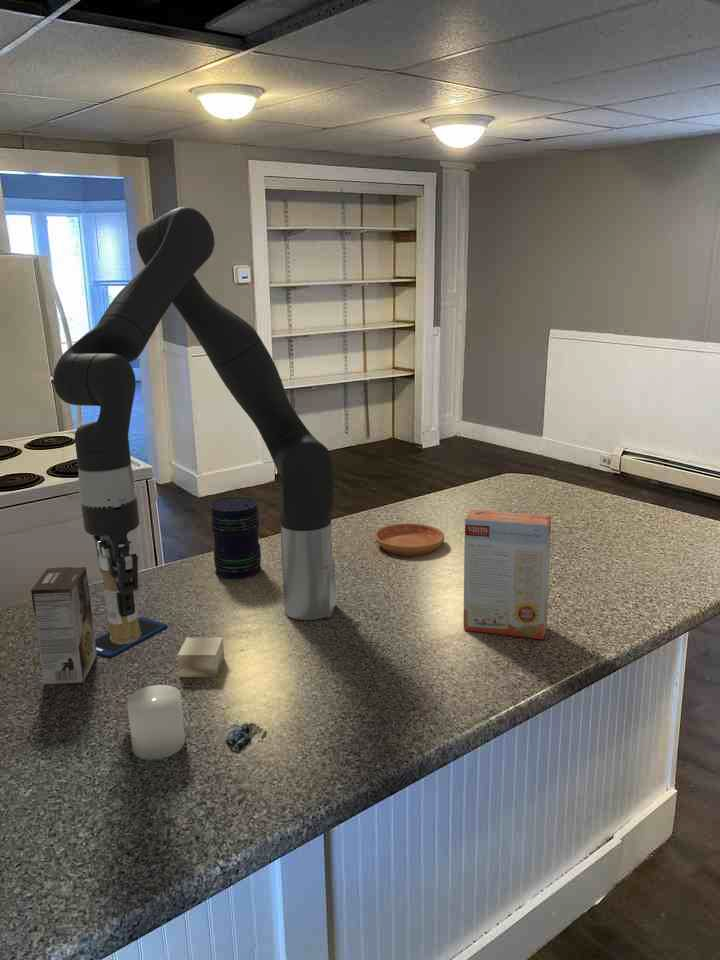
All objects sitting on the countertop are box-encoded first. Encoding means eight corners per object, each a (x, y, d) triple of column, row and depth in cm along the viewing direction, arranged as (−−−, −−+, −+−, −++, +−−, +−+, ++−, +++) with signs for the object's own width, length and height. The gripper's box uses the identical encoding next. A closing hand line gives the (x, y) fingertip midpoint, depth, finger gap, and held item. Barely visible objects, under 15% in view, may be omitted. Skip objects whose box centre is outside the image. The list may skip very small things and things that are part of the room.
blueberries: (269, 726, 111) (268, 715, 110) (265, 761, 103) (264, 749, 103) (221, 728, 111) (220, 716, 110) (213, 763, 103) (212, 751, 102)
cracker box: (547, 626, 139) (552, 514, 133) (543, 641, 133) (549, 525, 128) (469, 616, 143) (471, 507, 138) (462, 630, 138) (464, 517, 132)
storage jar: (205, 576, 164) (200, 508, 160) (230, 560, 173) (226, 495, 169) (247, 582, 160) (243, 513, 157) (270, 565, 169) (266, 499, 165)
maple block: (224, 659, 130) (222, 637, 129) (217, 677, 124) (215, 654, 123) (188, 659, 130) (186, 637, 129) (179, 678, 124) (177, 655, 123)
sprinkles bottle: (145, 639, 115) (136, 553, 111) (114, 648, 113) (103, 561, 109) (135, 628, 119) (125, 545, 115) (105, 636, 116) (94, 552, 113)
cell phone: (79, 650, 134) (79, 646, 134) (141, 619, 145) (140, 615, 145) (109, 660, 130) (108, 656, 130) (169, 628, 142) (169, 624, 141)
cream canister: (192, 731, 109) (188, 686, 108) (174, 761, 103) (169, 714, 101) (144, 727, 110) (139, 683, 109) (123, 757, 104) (118, 711, 102)
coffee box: (58, 657, 131) (46, 567, 127) (98, 655, 131) (87, 565, 127) (42, 685, 122) (28, 589, 118) (84, 683, 123) (72, 587, 118)
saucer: (456, 541, 182) (456, 529, 182) (423, 563, 170) (423, 550, 169) (396, 530, 191) (396, 519, 190) (361, 550, 178) (361, 538, 177)
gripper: (69, 490, 114) (83, 598, 118) (95, 514, 102) (110, 634, 107) (120, 481, 117) (132, 587, 122) (151, 503, 106) (163, 619, 110)
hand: (122, 608), depth 114 cm, fingers closed on sprinkles bottle, 4 cm apart
